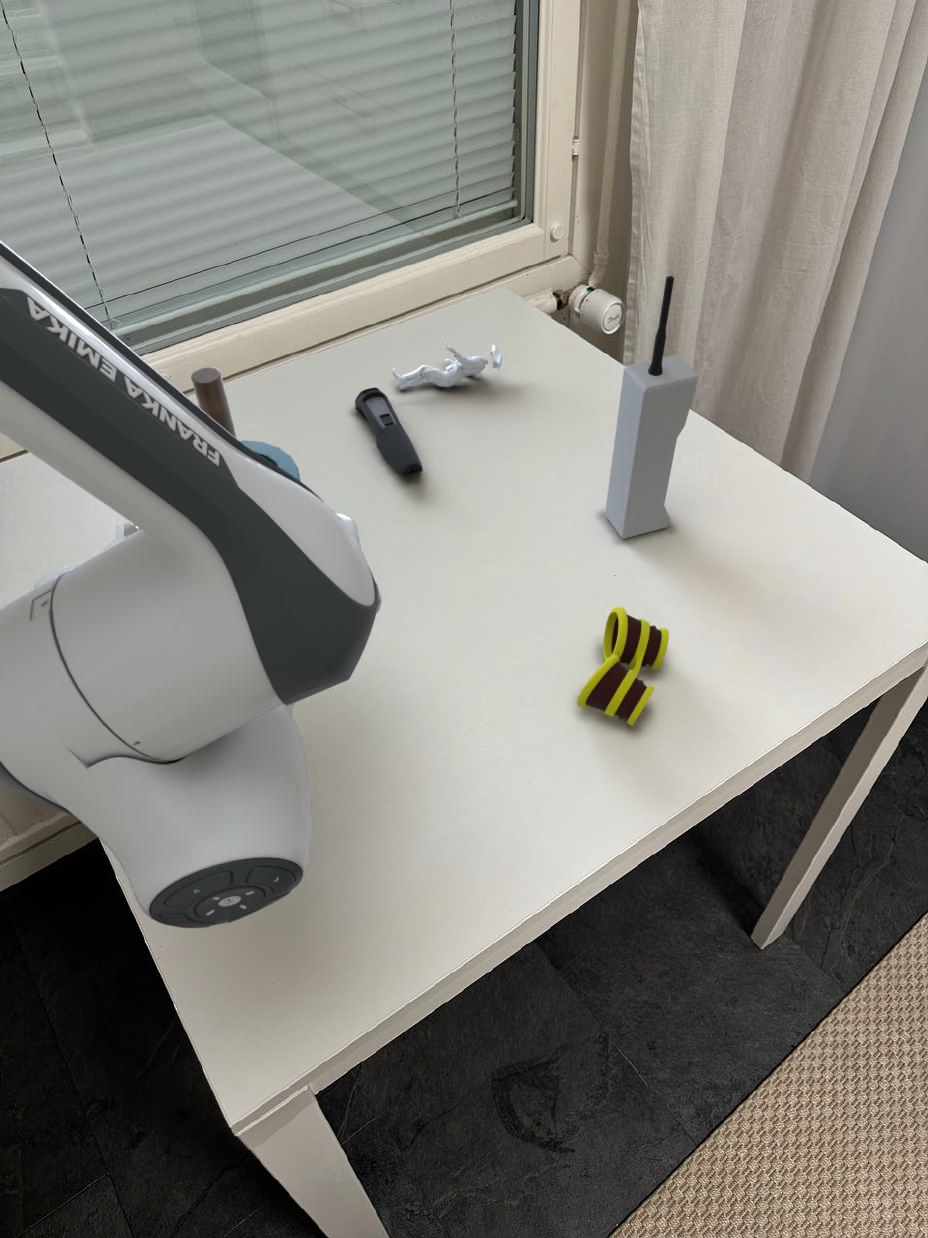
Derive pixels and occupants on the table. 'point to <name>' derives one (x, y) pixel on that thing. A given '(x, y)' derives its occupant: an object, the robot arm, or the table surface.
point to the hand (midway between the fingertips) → (201, 516)
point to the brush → (213, 396)
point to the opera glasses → (612, 680)
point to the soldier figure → (449, 369)
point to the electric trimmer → (388, 432)
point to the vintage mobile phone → (648, 435)
